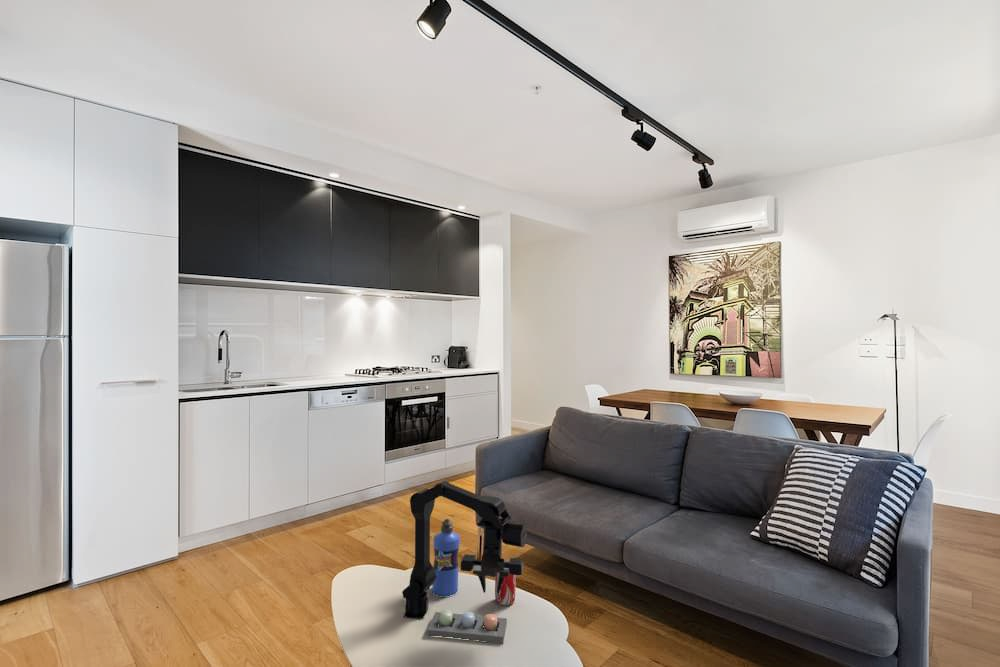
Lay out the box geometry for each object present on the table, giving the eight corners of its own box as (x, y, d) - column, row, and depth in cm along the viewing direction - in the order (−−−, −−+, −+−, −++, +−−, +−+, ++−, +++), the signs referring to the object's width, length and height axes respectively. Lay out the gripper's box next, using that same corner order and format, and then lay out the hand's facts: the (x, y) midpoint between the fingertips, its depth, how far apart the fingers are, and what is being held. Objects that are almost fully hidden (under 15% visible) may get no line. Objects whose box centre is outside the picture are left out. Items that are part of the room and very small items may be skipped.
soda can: (513, 608, 163) (514, 572, 163) (492, 605, 164) (493, 569, 165) (516, 597, 170) (517, 563, 170) (497, 595, 171) (497, 560, 172)
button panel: (427, 636, 146) (427, 629, 146) (435, 618, 156) (435, 612, 156) (503, 643, 143) (503, 636, 143) (506, 624, 153) (506, 618, 153)
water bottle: (435, 583, 179) (437, 514, 180) (460, 585, 178) (462, 516, 178) (428, 596, 170) (430, 523, 171) (454, 598, 168) (456, 525, 169)
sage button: (437, 626, 148) (438, 616, 149) (440, 619, 152) (441, 609, 152) (450, 627, 148) (450, 617, 148) (453, 620, 152) (453, 610, 152)
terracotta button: (483, 630, 147) (483, 620, 147) (484, 623, 151) (485, 613, 151) (496, 632, 146) (496, 621, 146) (497, 624, 150) (497, 614, 150)
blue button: (460, 628, 148) (460, 618, 148) (462, 621, 152) (463, 611, 152) (473, 629, 147) (473, 619, 147) (475, 622, 151) (475, 612, 151)
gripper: (457, 549, 143) (456, 603, 142) (520, 554, 140) (519, 609, 140) (464, 535, 154) (463, 585, 153) (523, 539, 151) (522, 590, 151)
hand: (491, 592), depth 149 cm, fingers open, 4 cm apart
